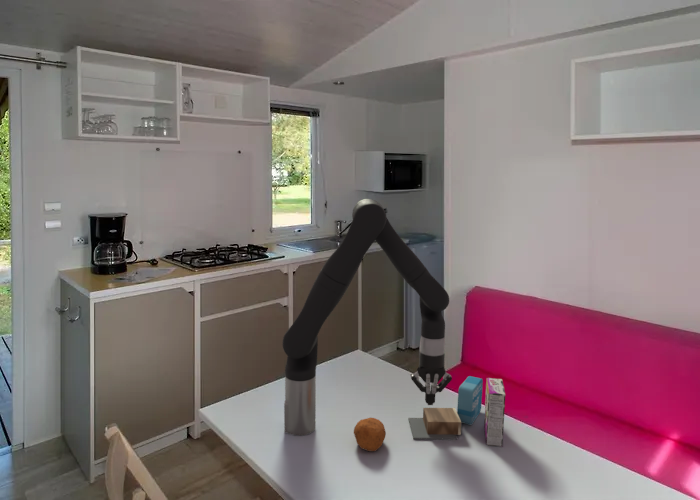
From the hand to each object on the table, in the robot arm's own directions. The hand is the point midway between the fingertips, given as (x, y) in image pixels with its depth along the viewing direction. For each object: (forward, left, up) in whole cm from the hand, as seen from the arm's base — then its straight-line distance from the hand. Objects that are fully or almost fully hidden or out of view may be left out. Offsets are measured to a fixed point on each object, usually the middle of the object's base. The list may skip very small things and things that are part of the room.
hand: (429, 403), depth 156 cm
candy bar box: (+18, -4, -8) cm, 21 cm away
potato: (-19, -9, -8) cm, 23 cm away
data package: (+14, +8, -8) cm, 18 cm away
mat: (+1, 0, -8) cm, 8 cm away
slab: (-1, 0, -6) cm, 6 cm away
